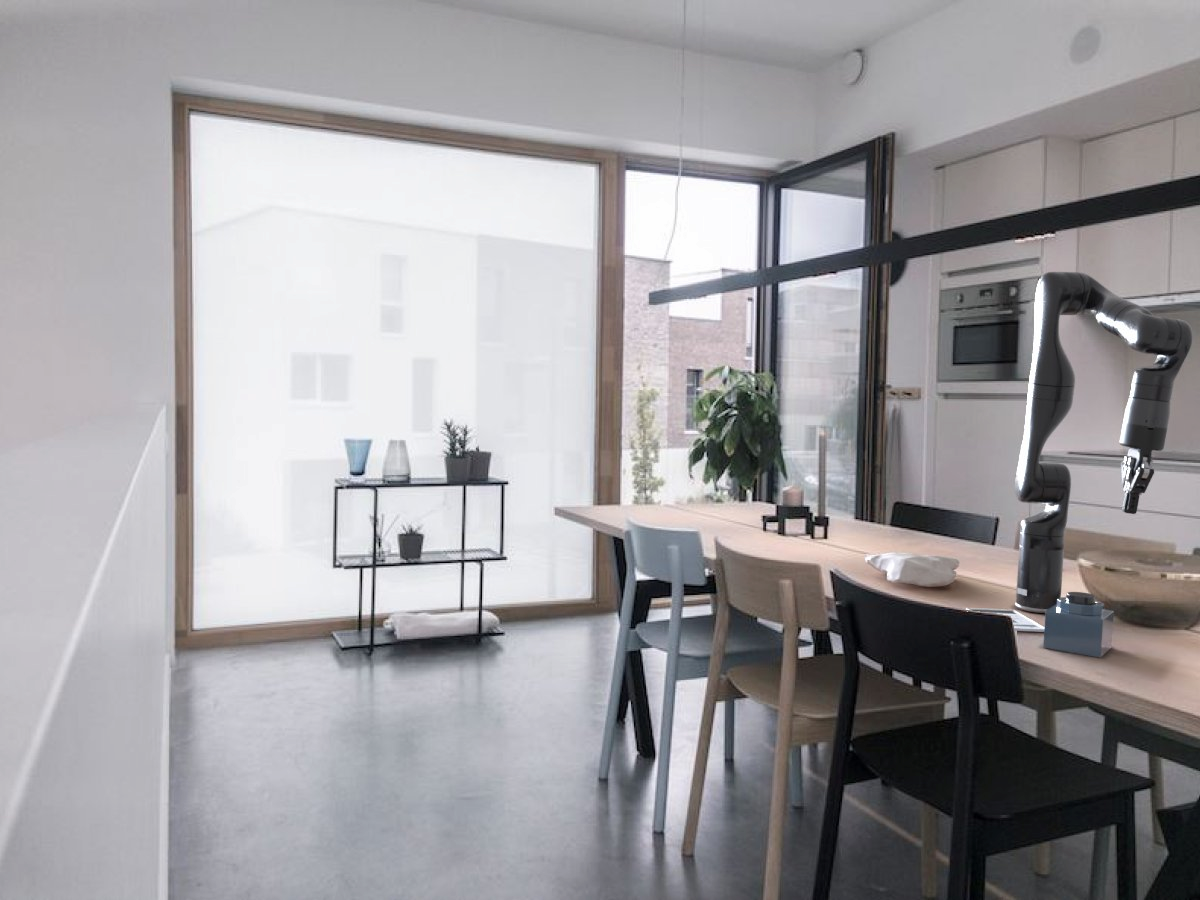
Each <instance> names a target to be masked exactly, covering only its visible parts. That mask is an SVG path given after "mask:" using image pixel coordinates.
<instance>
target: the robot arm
mask: <svg viewBox="0 0 1200 900" xmlns="http://www.w3.org/2000/svg"><path fill="white" fill-rule="evenodd" d="M1077 315H1084V316H1090V317H1095V319H1096V322H1097V324H1098V325H1099V327H1100V328H1101V329H1102V330H1104V331H1105V332H1107V333H1108V334H1111V335H1113V336H1115V337H1117V338H1119V339H1120V340H1122V341H1123V342H1124V343H1125V344H1126V345H1127V346H1128V347H1129V348H1130V349H1131V350H1132V351H1133V350H1134V351H1135V352H1138V353H1142V354H1146V355H1155V356H1157V357H1156V358H1155V360H1154V362H1153V363H1152V365H1150V366H1142V367H1139V368H1136V369H1135V370H1134V372H1133V373H1132V378H1131V384H1130V389H1129V393H1128V399H1127V403H1126V405H1125V408H1124V413H1123V420H1122V425H1121V430H1120V435H1119V441H1118V444H1119V445H1120V446H1122V447H1126V448H1128V451H1127V454H1126V455H1124V460H1122V461H1121V462H1120V470H1121V471H1120V472H1121V488H1123V492H1124V496H1123V502H1122V507H1121V511H1122V512H1123V513H1125V514H1129V515H1130V514H1131V515H1136V514H1137V512H1138V511H1137V510H1138V507H1139V500H1140V496H1142V495H1143V494H1145V493H1146V491H1147V489H1148V486H1149V485H1150V483H1151V481H1152V479H1153V476H1154V475H1155V468H1153V463H1154V460H1153V459H1152V453H1153V451H1156V452H1161V451H1163V450H1164V449H1165V444H1166V438H1167V432H1168V427H1169V421H1170V418H1171V417H1170V416H1171V402H1172V397H1173V392H1174V386H1175V381H1176V379H1177V378H1178V375H1179V374H1180V371H1181V369H1182V368H1183V365H1184V363H1185V361H1186V360H1187V357H1188V355H1189V353H1190V351H1191V348H1192V346H1193V341H1194V332H1193V329H1192V327H1191V325H1190V324H1189V322H1187V321H1186V320H1183V319H1178V318H1171V317H1163V316H1155V315H1153V313H1152V312H1151V311H1150V310H1148V309H1147V308H1145V307H1144V306H1141V305H1139V304H1137V303H1134V302H1132V301H1129V300H1127V299H1125V298H1122V297H1121V296H1119V295H1117V294H1115V293H1114V292H1112V291H1111V290H1109V288H1106V286H1104V285H1103V284H1102V283H1100V282H1099V281H1098V280H1097V279H1096V278H1094V277H1093V276H1091V275H1090V274H1087V273H1084V272H1079V271H1048V272H1045V273H1044V274H1042V276H1041V277H1040V278H1039V280H1038V282H1037V284H1036V290H1035V296H1034V323H1033V324H1034V325H1033V326H1034V327H1033V347H1032V348H1033V349H1032V358H1031V366H1030V373H1029V379H1028V388H1027V397H1026V409H1025V421H1024V429H1023V435H1022V436H1023V437H1022V440H1021V441H1022V442H1021V445H1020V450H1019V456H1018V462H1017V467H1016V472H1015V479H1014V491H1015V496H1016V499H1017V500H1018V501H1019V502H1020V503H1022V504H1023V503H1024V504H1034V505H1035V504H1036V505H1045V507H1044V509H1043V510H1042V511H1041V512H1039V513H1037V514H1035V515H1032V516H1030V517H1026V518H1024V519H1022V520H1021V521H1020V527H1019V541H1018V542H1019V544H1018V558H1017V559H1018V560H1017V575H1016V577H1017V578H1016V591H1015V602H1014V607H1015V608H1016V609H1018V610H1021V611H1025V612H1029V613H1036V614H1037V613H1038V614H1045V612H1046V610H1048V609H1049V608H1051V607H1053V606H1054V605H1056V604H1057V599H1058V598H1061V597H1062V586H1063V585H1062V584H1063V569H1064V555H1065V554H1064V553H1065V536H1066V528H1067V525H1068V524H1067V522H1068V519H1069V518H1068V516H1069V507H1070V498H1071V492H1072V491H1071V489H1072V477H1071V471H1070V468H1068V466H1067V465H1065V464H1063V463H1056V462H1040V459H1041V455H1042V452H1043V449H1044V447H1045V444H1046V443H1047V441H1048V439H1049V438H1050V437H1051V436H1052V434H1053V433H1054V432H1055V431H1056V429H1057V428H1058V427H1059V426H1060V424H1061V423H1062V422H1063V421H1064V420H1065V419H1066V417H1067V416H1068V415H1069V413H1070V411H1071V409H1072V406H1073V402H1074V396H1075V387H1076V386H1075V385H1076V373H1075V371H1074V368H1073V366H1072V363H1071V361H1070V359H1069V358H1068V355H1067V353H1066V351H1065V349H1064V347H1063V345H1062V342H1061V339H1060V319H1061V318H1060V317H1061V316H1077Z"/></svg>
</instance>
